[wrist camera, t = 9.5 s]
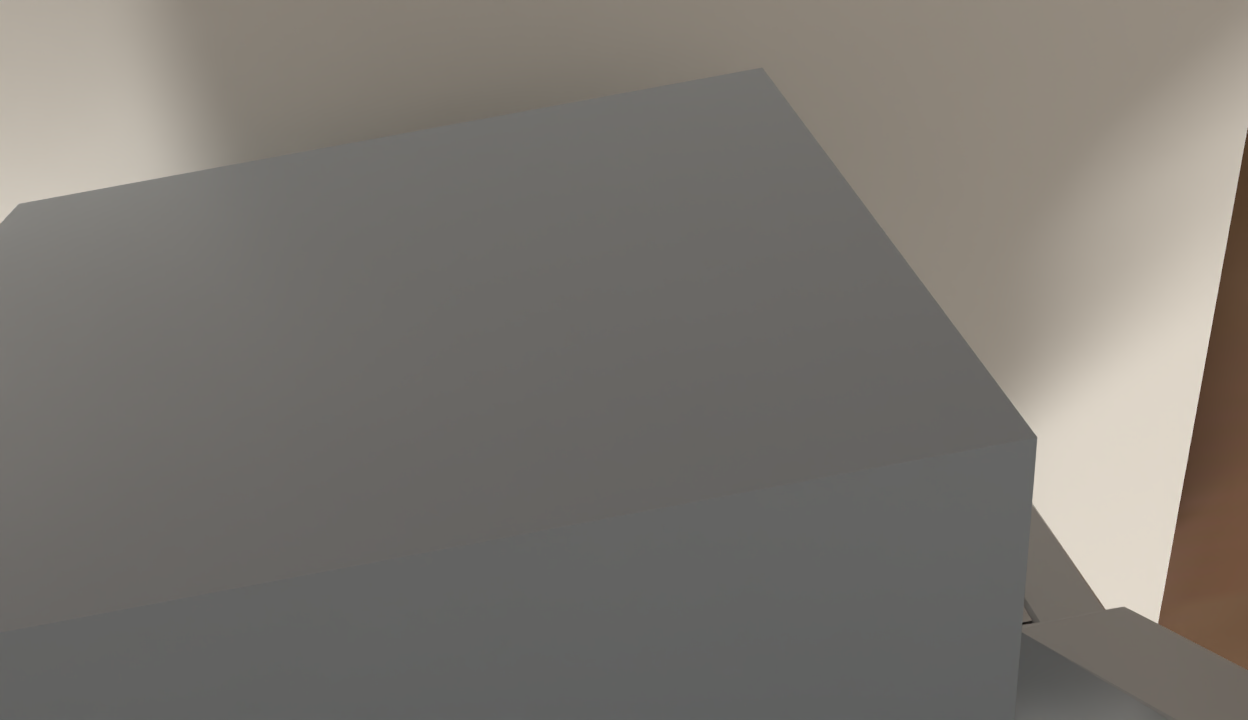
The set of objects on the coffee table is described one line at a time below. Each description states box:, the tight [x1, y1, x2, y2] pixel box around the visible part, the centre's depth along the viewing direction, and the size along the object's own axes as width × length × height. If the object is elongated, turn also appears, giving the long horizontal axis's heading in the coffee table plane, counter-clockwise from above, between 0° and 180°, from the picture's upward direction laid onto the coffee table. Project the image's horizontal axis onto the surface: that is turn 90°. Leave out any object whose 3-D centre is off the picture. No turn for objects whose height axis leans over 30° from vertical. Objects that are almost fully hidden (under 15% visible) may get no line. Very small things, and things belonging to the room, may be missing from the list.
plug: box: [0, 68, 1037, 720], centre depth 10 cm, size 11×6×8 cm, turn 8°
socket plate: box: [0, 0, 1248, 624], centre depth 12 cm, size 16×16×4 cm
